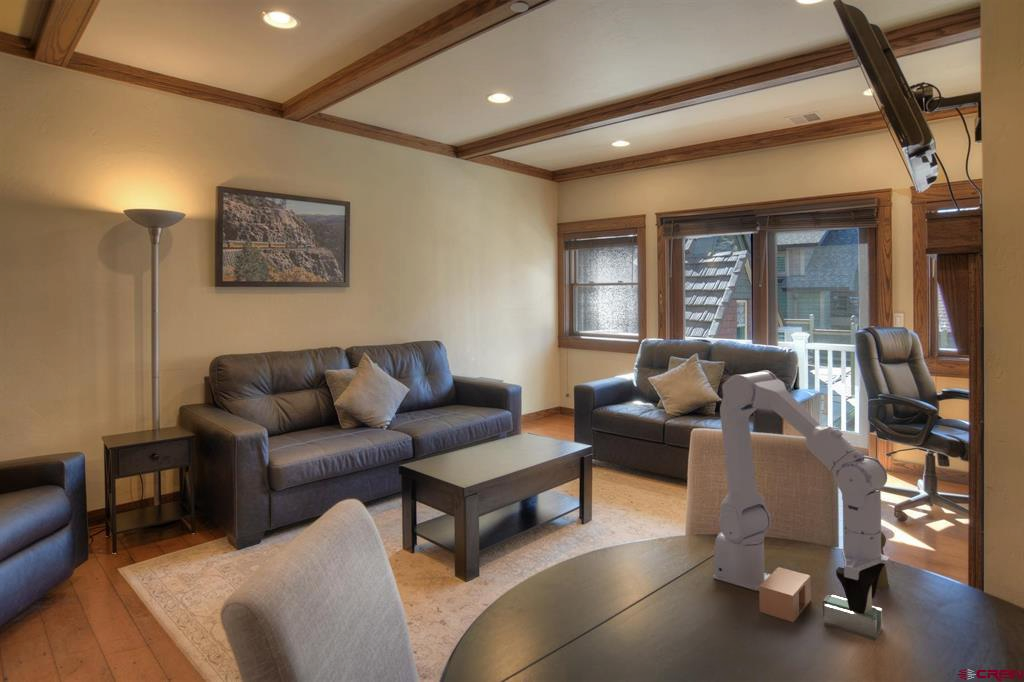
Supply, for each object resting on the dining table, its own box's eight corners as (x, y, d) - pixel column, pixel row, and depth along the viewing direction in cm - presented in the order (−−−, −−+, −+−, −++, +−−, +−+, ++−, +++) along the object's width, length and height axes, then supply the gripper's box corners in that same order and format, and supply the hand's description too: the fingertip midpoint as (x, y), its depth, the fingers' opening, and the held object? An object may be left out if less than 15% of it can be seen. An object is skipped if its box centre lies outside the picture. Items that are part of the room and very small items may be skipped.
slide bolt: (823, 616, 107) (822, 577, 107) (827, 610, 109) (827, 571, 109) (873, 632, 102) (873, 590, 101) (877, 625, 104) (877, 584, 103)
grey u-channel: (824, 624, 106) (824, 605, 106) (832, 613, 110) (832, 594, 109) (875, 640, 101) (875, 620, 100) (882, 628, 104) (882, 608, 104)
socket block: (759, 611, 111) (759, 585, 111) (778, 591, 119) (778, 567, 118) (793, 622, 107) (792, 595, 107) (810, 600, 115) (810, 575, 114)
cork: (894, 590, 117) (893, 536, 116) (860, 588, 118) (860, 535, 118) (881, 576, 123) (881, 524, 122) (849, 574, 124) (849, 523, 123)
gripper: (878, 547, 95) (878, 629, 96) (897, 520, 105) (897, 594, 106) (830, 537, 100) (831, 614, 101) (853, 512, 110) (853, 583, 111)
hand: (862, 603), depth 104 cm, fingers open, 6 cm apart
